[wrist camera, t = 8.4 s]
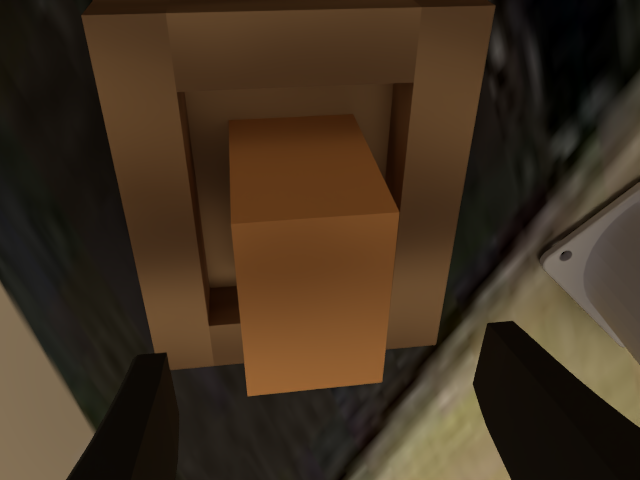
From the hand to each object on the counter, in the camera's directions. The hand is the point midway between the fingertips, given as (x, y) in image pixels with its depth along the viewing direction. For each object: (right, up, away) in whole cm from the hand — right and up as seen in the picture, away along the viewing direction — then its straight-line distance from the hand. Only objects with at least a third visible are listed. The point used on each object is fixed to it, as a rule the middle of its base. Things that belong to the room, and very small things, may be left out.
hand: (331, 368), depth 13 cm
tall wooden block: (-1, +4, +7) cm, 8 cm away
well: (-1, +5, +7) cm, 9 cm away
